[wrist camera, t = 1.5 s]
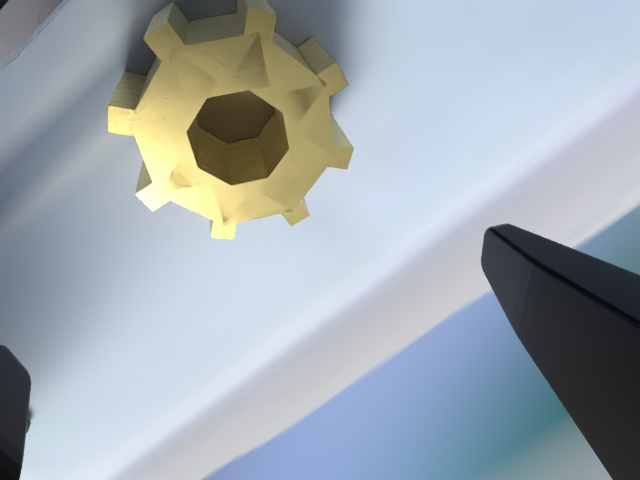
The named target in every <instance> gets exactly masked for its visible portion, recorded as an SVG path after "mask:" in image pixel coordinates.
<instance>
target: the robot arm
mask: <svg viewBox="0 0 640 480" xmlns="http://www.w3.org/2000/svg"><path fill="white" fill-rule="evenodd" d="M481 265H482V269H483V271H484V274H485V276H486V277H487V279H488V281H489V283H490V285H491V287H492V289H493V291H494V293H495V295H496V297H497V299H498V301H499V303H500V305H501V306H502V308H503V310H504V312H505V314H506V316H507V318H508V320H509V322H510V324H511V325H512V327H513V329H514V331H515V333H516V335H517V336H518V338H519V340H520V341H521V343H522V344H523V346H524V347H525V349H526V350H527V352H528V353H529V355H530V356H531V358H532V359H533V361H534V362H535V364H536V365H537V367H538V368H539V370H540V371H541V373H542V374H543V376H544V377H545V379H546V380H547V382H548V383H549V385H550V386H551V388H552V389H553V391H554V392H555V394H556V395H557V397H558V398H559V400H560V401H561V403H562V404H563V406H564V407H565V409H566V410H567V412H568V413H569V415H570V416H571V418H572V419H573V421H574V422H575V424H576V425H577V427H578V428H579V430H580V431H581V433H582V434H583V436H584V437H585V439H586V440H587V442H588V443H589V445H590V446H591V448H592V449H593V451H594V452H595V454H596V455H597V456H598V458H599V460H600V461H601V463H602V464H603V466H604V467H605V469H606V470H607V471H608V473H609V475H610V476H611V478H612V479H613V480H640V275H638V274H636V273H633V272H631V271H628V270H625V269H623V268H621V267H618V266H615V265H613V264H610V263H608V262H605V261H603V260H600V259H598V258H595V257H592V256H590V255H587V254H585V253H582V252H580V251H577V250H575V249H572V248H570V247H567V246H564V245H562V244H559V243H557V242H554V241H552V240H549V239H547V238H544V237H542V236H539V235H536V234H534V233H531V232H529V231H526V230H524V229H521V228H519V227H516V226H513V225H511V224H501V225H497V226H493V227H489V228H488V229H487V230H486V231H485V234H484V241H483V248H482V256H481ZM30 390H31V379H30V375H29V373H28V371H27V370H26V369H25V368H24V366H23V365H22V364H21V363H20V362H19V361H18V359H17V358H16V357H15V356H14V355H13V354H12V352H11V351H10V350H9V349H8V348H7V347H5V346H3V345H0V480H19V479H20V474H21V469H22V462H23V455H24V446H25V437H26V433H27V432H28V430H29V427H30V424H31V422H30V421H29V420H28V409H29V399H30Z"/></svg>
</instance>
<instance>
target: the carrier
mask: <svg viewBox="0 0 640 480" xmlns="http://www.w3.org/2000/svg"><path fill="white" fill-rule="evenodd" d="M68 1H69V0H0V70H1V69H2V68H4V67H5V66H6V65H7V64H9V63H10V62H11V61H12V60H14V59H15V58H16V57H17V56H18V55H19V54H20V53H21V52H22V51H23V50H24V49H25V47H26V46H27V45H28V44H29V43H30V42H31V41H32V40H33V39H34V38H35V37H36V36H37V35H38V34H39V32H40V31H41V30H42V29H43V28H44V27H45V26H46V25H47V24H48V23H49V22H50V21H51V20H52V19H53V17H54V16H55V15H56V14H57V13H58V12H59V11H60V10H61V9H62V8H63V7H64V6H65V5H66V4H67V2H68Z"/></svg>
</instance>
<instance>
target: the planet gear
mask: <svg viewBox="0 0 640 480" xmlns="http://www.w3.org/2000/svg"><path fill="white" fill-rule="evenodd" d="M276 19H277V14H276V12H275V11H274V10H273V8H272V7H271V6H270V4H269V3H268V2H267V0H238V1H237V8H236V13H232V14H226V15H220V16H214V17H209V18H203V19H197V20H192V21H188V20H187V19H186V18H185V16H184V15H183V13H182V12H181V11H180V9H179V8H178V6H177V5H176V4H175V2H174V1H172V2H171V3H169V4H168V5H167V6H165V7H164V8H162V9H161V10H160V11H158V12H157V13H156V14H154V15H153V18H152V20H151V22H150V24H149V27H148V29H147V31H146V33H145V35H144V38H143V39H144V40H145V42H146V43H147V44H148V45H149V47H150V48H151V49H152V50H153V52H154V53H155V54H156V56H157V57H156V59H155V61H154V63H153V65H152V67H151V68H150V70H149V72H148V74H147V76H146V75H142V74H137V73H132V72H127V71H124V73H123V75H122V77H121V79H120V82H119V84H118V86H117V88H116V90H115V92H114V94H113V96H112V98H111V100H110V103H109V105H108V132H111V133H118V134H124V135H130V136H134V137H135V139H136V142H137V144H138V147H139V149H140V152H141V154H142V157H143V163H142V167H141V172H140V176H139V181H138V185H137V189H136V194H135V195H136V196H137V197H138V198H139V199H140V200H141V201H143V202H144V203H145V204H146V205H147V206H148V207H149V208H150V209H151V210H152V211H154V210H156V209H157V208H159V207H160V206H162V205H163V204H165V203H166V202H168V201H170V200H171V201H173V202H175V203H177V204H179V205H181V206H183V207H186V208H188V209H190V210H192V211H194V212H196V213H198V214H200V215H203V216H205V217H207V218H209V219H210V227H211V237H212V238H223V239H233V238H234V233H235V228H236V223H239V222H244V221H248V220H253V219H257V218H262V217H266V216H271V215H275V214H280V213H281V214H282V215H283V216H284V217H285V219H286V220H287V221H288V223H289V224H290V225H291V226H293V225H295V224H296V223H298V222H300V221H301V220H303V219H304V218H306V217H308V216H309V215H310V214H309V211H308V208H307V206H306V203H305V200H304V196H305V195H306V193H307V192H308V191H309V189H310V188H311V187H312V186H313V184H314V183H315V182H316V181H317V179H318V178H319V177H320V175H321V174H322V173H323V172H324V170H325V169H326V168H327V167H334V168H340V169H347V168H348V165H349V162H350V158H351V155H352V152H353V149H354V148H353V146H352V145H351V143H350V142H349V140H348V139H347V137H346V136H345V134H344V133H343V131H342V130H341V128H340V127H339V125H338V123H337V122H336V120H335V119H334V117H333V116H332V114H331V113H330V104H329V97H330V96H332V95H333V94H335V93H336V92H338V91H340V90H341V89H343V88H344V87H346V86H347V85H349V84H348V82H347V81H346V79H345V77H344V75H343V73H342V71H341V69H340V67H339V65H338V63H337V62H336V61H335V59H334V58H333V57H332V56H331V55H330V54H329V53H328V52H327V51H326V50H325V48H324V47H323V46H322V45H321V44H320V43H319V42H318V41H317V40H316V39H315V38H314V36H313V37H311V38H310V39H308V40H307V41H305V42H304V43H303V44H301V45H300V46H298V47H297V48H296V47H295V46H294V45H293V44H291V43H290V42H289V41H287V40H286V39H285V38H283V37H282V36H281V35H279V34H278V33H277V32H276V31H274V29H275V24H276ZM247 90H249V91H251V92H252V93H254V94H255V95H257V96H258V97H260V98H261V99H263V100H264V101H266V102H267V103H269V104H270V105H272V106H273V107H274V109H275V112H274V114H273V115H272V117H271V118H270V119H269V121H268V122H267V124H266V125H265V127H264V128H263V130H262V131H261V132H260V134H259V135H258V137H254V138H249V139H244V140H240V141H235V142H230V143H226V142H224V141H222V140H220V139H219V138H217V137H215V136H213V135H212V134H210V133H208V132H207V131H205V130H203V129H201V128H200V127H198V124H197V121H196V118H195V117H196V115H197V114H198V112H199V110H200V109H201V107H202V106H203V104H204V102H205V101H206V99H207V98H210V97H216V96H221V95H226V94H231V93H236V92H241V91H247Z"/></svg>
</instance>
